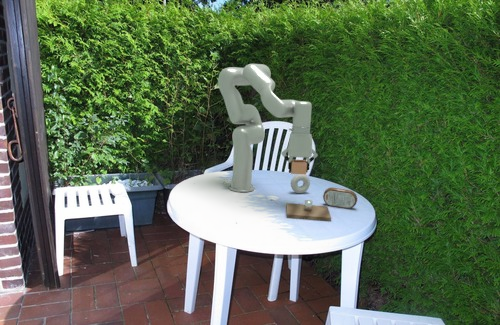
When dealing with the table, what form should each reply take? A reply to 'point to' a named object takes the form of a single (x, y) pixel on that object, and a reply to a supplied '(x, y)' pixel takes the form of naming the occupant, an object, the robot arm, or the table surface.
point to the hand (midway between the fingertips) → (298, 170)
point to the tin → (340, 198)
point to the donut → (296, 179)
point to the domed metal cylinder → (308, 205)
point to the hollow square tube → (298, 166)
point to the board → (315, 214)
